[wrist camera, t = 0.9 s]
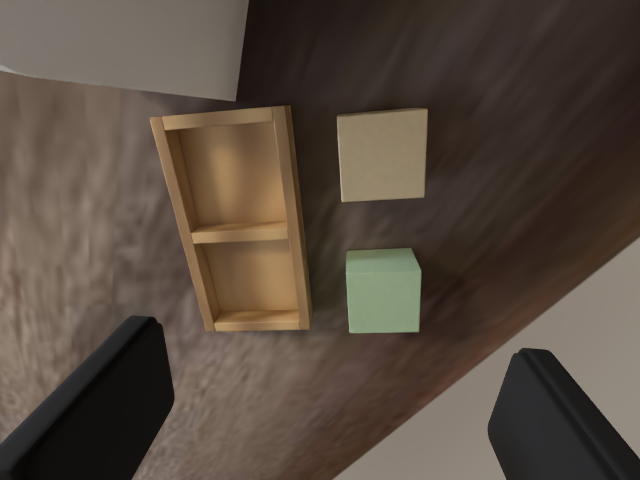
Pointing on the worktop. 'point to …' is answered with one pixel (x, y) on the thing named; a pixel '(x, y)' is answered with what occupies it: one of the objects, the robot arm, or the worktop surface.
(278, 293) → the divided wooden tray
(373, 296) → the green block
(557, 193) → the worktop surface
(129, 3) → the milk
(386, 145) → the tan block
